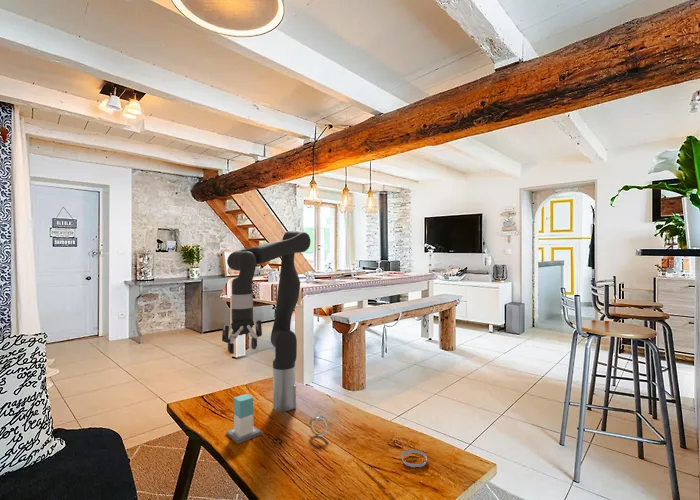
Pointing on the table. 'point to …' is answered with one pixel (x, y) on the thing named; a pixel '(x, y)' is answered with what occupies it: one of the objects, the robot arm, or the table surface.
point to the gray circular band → (413, 452)
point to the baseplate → (247, 436)
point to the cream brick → (243, 424)
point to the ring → (320, 416)
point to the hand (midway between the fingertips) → (242, 351)
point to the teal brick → (243, 406)
